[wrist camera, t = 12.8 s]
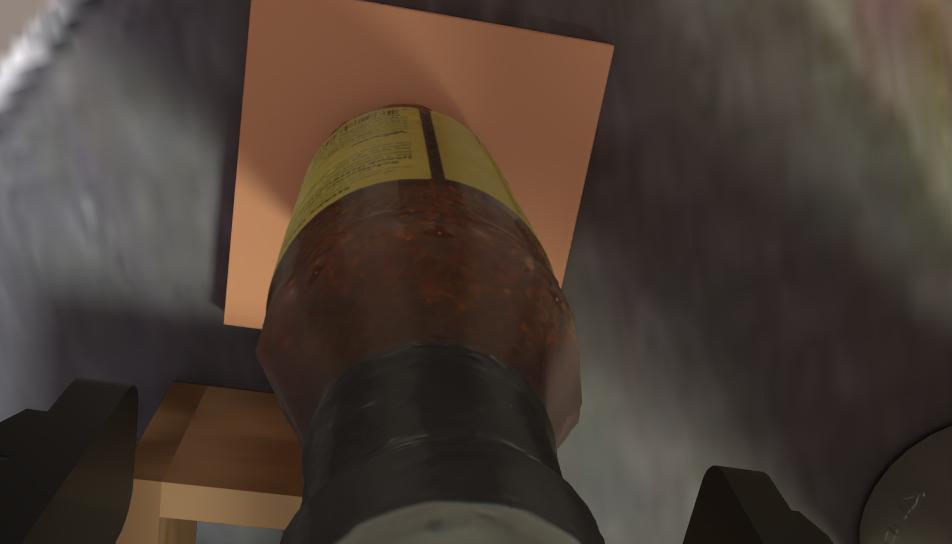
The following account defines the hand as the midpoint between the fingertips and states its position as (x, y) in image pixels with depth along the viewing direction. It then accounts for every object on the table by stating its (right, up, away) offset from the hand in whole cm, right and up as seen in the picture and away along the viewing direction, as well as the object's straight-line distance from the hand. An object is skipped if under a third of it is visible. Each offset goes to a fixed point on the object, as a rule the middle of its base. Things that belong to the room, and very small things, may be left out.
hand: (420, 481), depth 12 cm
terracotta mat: (-1, +6, +17) cm, 18 cm away
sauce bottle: (-1, +5, +16) cm, 17 cm away
